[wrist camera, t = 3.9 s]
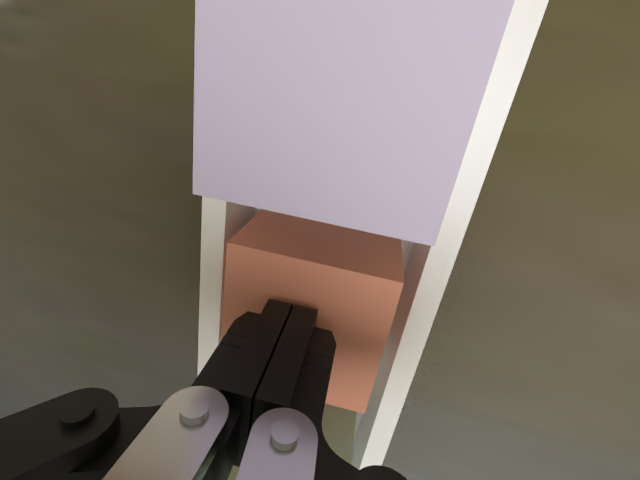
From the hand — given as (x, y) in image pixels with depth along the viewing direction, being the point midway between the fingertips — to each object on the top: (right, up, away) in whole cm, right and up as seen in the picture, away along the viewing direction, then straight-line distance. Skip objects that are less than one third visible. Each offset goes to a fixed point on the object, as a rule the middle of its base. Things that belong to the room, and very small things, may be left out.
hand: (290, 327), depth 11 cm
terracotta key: (+1, +2, +4) cm, 5 cm away
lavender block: (+2, +7, -1) cm, 7 cm away
